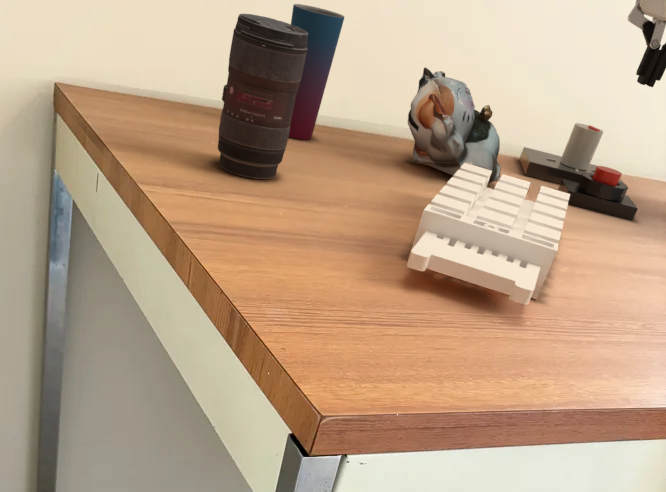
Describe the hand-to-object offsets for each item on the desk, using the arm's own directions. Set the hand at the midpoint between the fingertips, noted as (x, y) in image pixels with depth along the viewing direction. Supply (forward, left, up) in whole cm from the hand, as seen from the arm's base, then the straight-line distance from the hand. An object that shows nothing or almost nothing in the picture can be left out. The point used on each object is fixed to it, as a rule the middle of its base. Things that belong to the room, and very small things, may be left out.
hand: (644, 84), depth 109 cm
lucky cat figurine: (+22, +3, -16) cm, 27 cm away
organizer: (+18, +38, -16) cm, 45 cm away
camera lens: (+46, +29, -16) cm, 56 cm away
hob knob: (+2, -14, -14) cm, 20 cm away
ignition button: (0, 0, -13) cm, 13 cm away
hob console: (+2, -14, -16) cm, 21 cm away
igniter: (0, 0, -16) cm, 16 cm away
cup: (+44, +4, -16) cm, 47 cm away
